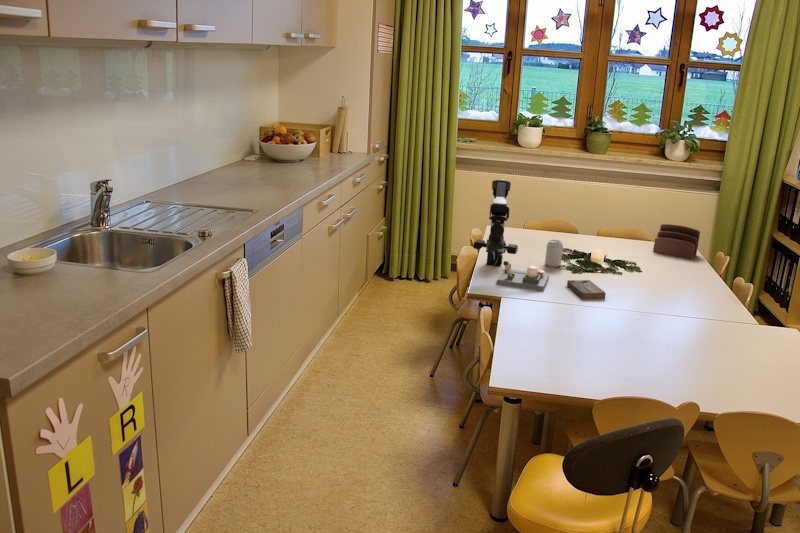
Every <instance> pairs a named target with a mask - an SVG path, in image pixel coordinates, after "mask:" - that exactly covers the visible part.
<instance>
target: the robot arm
mask: <svg viewBox="0 0 800 533" xmlns="http://www.w3.org/2000/svg"><path fill="white" fill-rule="evenodd" d="M491 182H492V183H491V191H492V195H493V197H494V199H492V204H490V207H489V220H490V231H489V232H490V233H489V235H488V239H486V241H485V240H483V239H476V240H474V242H473V244H472V248H473V249H475V250H481V249H482V248H485V252H486V253H487V256H486V258H487V259H486V263H485V265H486V266H492V267H501V266H502V264H503V259H504V255H503V254H505V253H507V254H509V255H510V254H511V255H516V254H517V253H518V249H519V246H518V245H517V244H512V243H508V245H507V243H506V240H505V239H504V238H505V237H504V233H505V222H508V219H509V218H510V210H511V209H510V206H509V205H508V200H506V198H507V197H508V196H509V192H511V185H512V184H511V183H512V182H511V181H508V180H507V179H501V178H497V179H495V180H492V181H491Z"/></svg>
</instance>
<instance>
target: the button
mask: <svg viewBox="0 0 800 533" xmlns="http://www.w3.org/2000/svg"><path fill="white" fill-rule="evenodd" d="M538 269H539V267H538V266H534V265H533V266H532V265H529V266H527V270H526V271H527V277H529V278H537V273H538Z"/></svg>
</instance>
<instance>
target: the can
mask: <svg viewBox="0 0 800 533" xmlns="http://www.w3.org/2000/svg"><path fill="white" fill-rule="evenodd" d="M563 250H564V244H563V241H561V240H559V239H549V240H548V242H547V243H546V250H545V260H544V263H545V265H546V266H547V267H550V268H558V267H560V266H561V265H562V258H563Z"/></svg>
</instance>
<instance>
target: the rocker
mask: <svg viewBox="0 0 800 533" xmlns="http://www.w3.org/2000/svg"><path fill="white" fill-rule="evenodd" d="M543 274H545V270H543V269H540V268H538V273H537V275H541V277H542V276H543Z"/></svg>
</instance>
